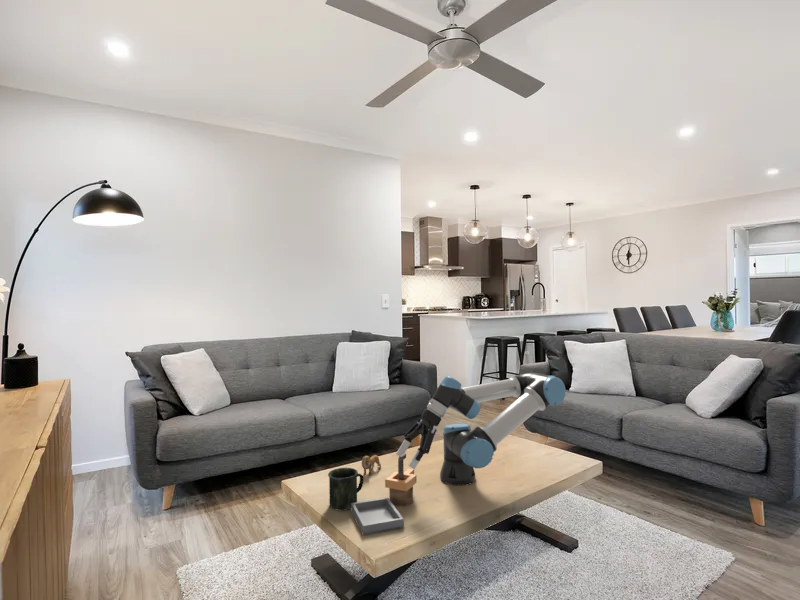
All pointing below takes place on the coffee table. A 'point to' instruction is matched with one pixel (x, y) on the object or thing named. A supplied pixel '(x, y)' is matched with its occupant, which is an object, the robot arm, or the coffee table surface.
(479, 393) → the robot arm
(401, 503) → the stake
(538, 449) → the coffee table surface
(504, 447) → the coffee table surface
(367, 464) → the lion figurine
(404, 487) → the orange square frame paddle
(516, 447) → the coffee table surface
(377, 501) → the tray
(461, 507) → the coffee table surface
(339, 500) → the mug
